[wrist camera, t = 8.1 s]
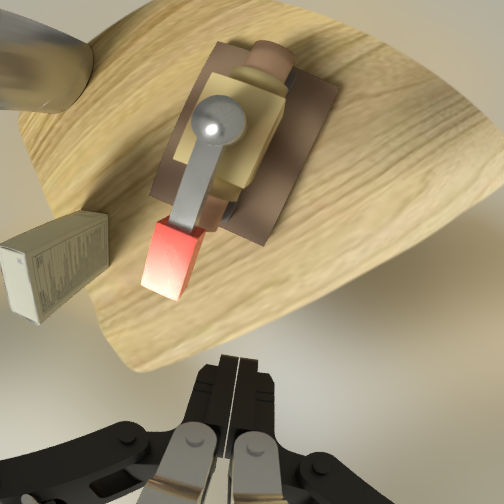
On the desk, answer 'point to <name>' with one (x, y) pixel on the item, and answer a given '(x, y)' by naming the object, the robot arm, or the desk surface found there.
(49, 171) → the desk surface
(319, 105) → the valve rig
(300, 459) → the robot arm
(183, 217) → the valve lever
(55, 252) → the skincare box
